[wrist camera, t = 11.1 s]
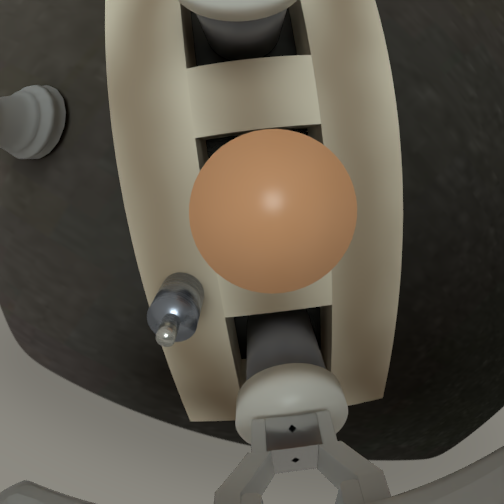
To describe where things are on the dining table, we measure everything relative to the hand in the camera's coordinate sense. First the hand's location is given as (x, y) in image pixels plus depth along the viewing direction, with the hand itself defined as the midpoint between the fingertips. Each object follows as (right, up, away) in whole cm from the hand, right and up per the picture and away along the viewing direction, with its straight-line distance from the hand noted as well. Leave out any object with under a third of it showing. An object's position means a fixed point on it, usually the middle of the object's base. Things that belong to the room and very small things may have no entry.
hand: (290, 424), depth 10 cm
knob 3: (0, +2, +7) cm, 7 cm away
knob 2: (-1, +10, +4) cm, 11 cm away
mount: (-1, +10, +5) cm, 11 cm away
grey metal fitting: (-5, +5, +3) cm, 7 cm away
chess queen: (-14, +14, +3) cm, 20 cm away
